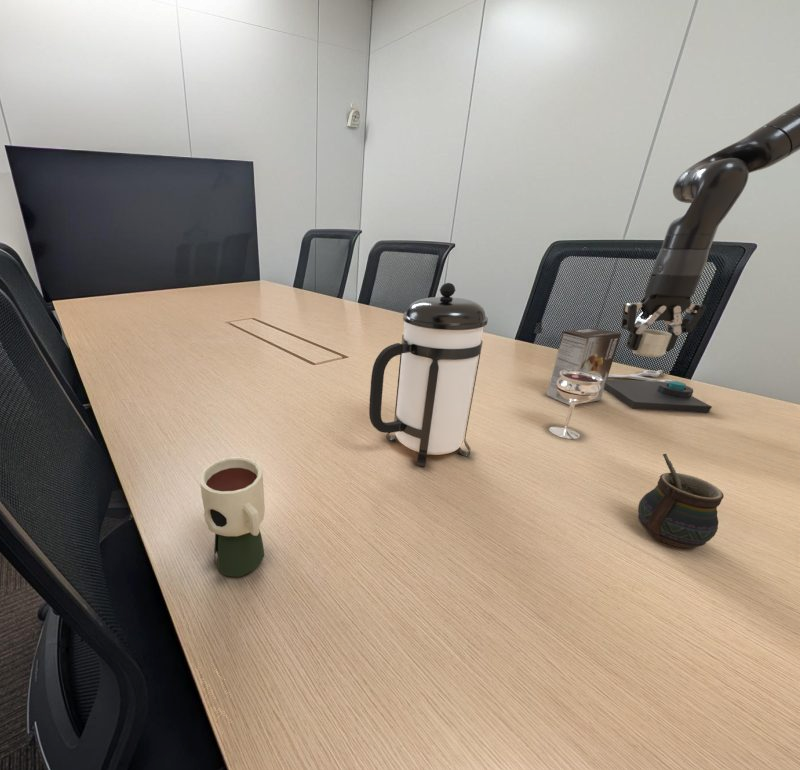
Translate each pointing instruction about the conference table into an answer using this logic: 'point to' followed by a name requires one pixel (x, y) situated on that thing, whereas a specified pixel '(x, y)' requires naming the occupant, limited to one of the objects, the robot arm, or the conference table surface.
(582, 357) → the coffee box
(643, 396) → the scale
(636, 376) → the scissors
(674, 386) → the tare button
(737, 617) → the conference table surface
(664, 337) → the bowl
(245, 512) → the character mug
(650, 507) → the mate gourd
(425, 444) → the coffee press
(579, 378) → the wineglass
